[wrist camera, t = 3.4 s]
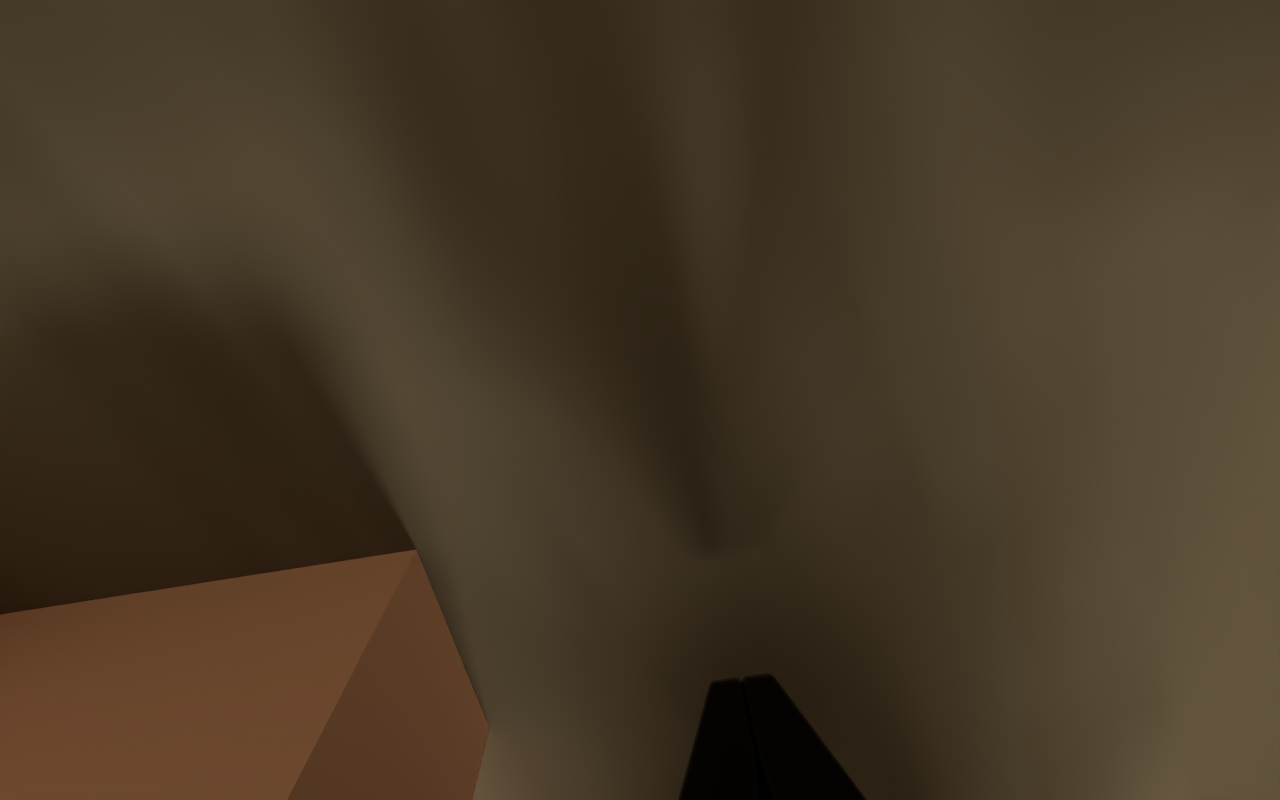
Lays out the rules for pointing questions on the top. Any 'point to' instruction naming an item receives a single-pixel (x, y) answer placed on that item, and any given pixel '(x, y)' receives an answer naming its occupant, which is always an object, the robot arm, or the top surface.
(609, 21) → the top surface
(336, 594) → the t puck
